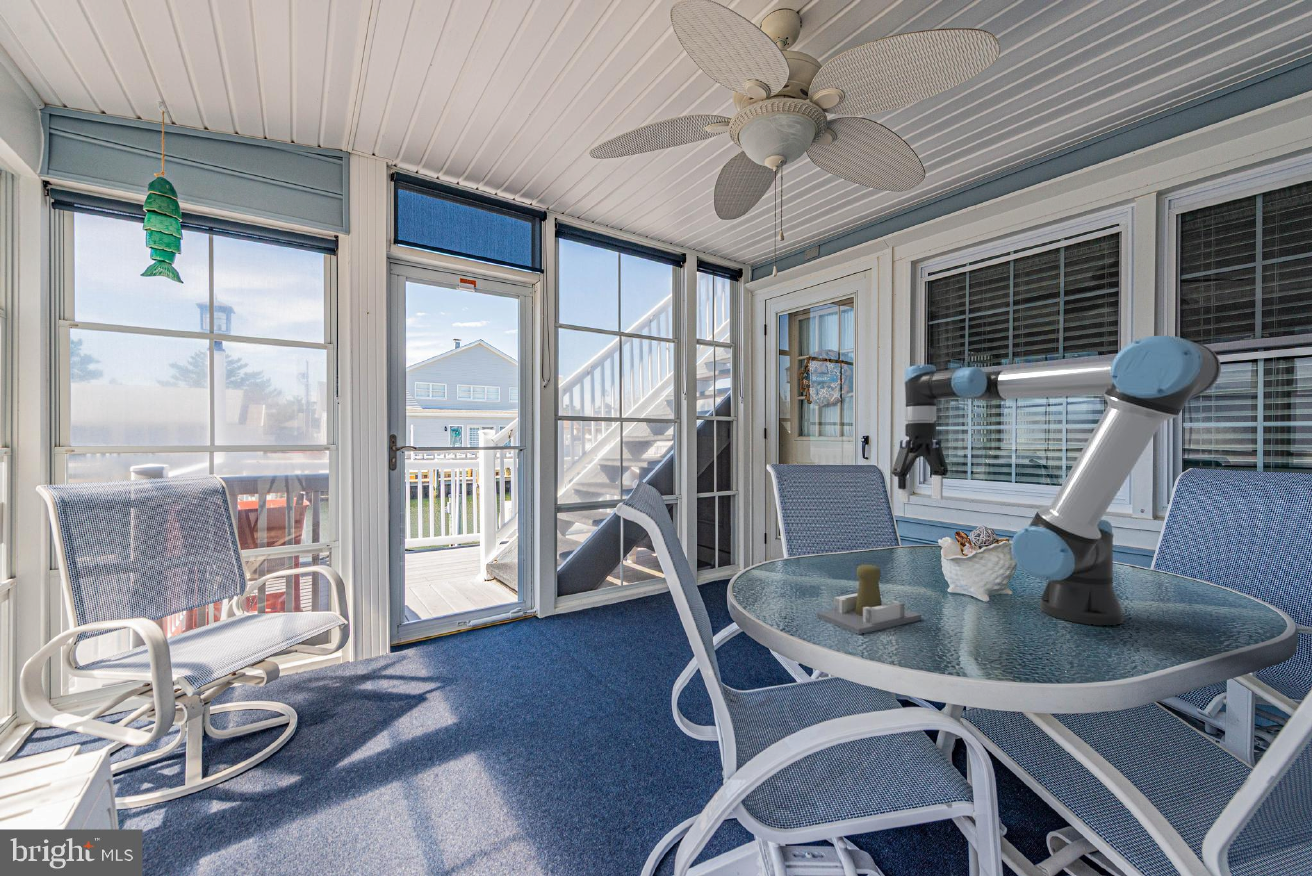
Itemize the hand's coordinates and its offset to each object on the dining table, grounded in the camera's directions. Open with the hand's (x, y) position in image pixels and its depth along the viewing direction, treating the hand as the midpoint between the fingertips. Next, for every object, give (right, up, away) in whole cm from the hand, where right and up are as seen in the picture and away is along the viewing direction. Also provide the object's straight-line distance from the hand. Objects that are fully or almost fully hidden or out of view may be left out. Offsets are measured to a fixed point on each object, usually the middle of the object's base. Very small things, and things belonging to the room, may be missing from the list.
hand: (921, 500), depth 142 cm
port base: (-24, -25, -22) cm, 41 cm away
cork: (-23, -24, -22) cm, 40 cm away
